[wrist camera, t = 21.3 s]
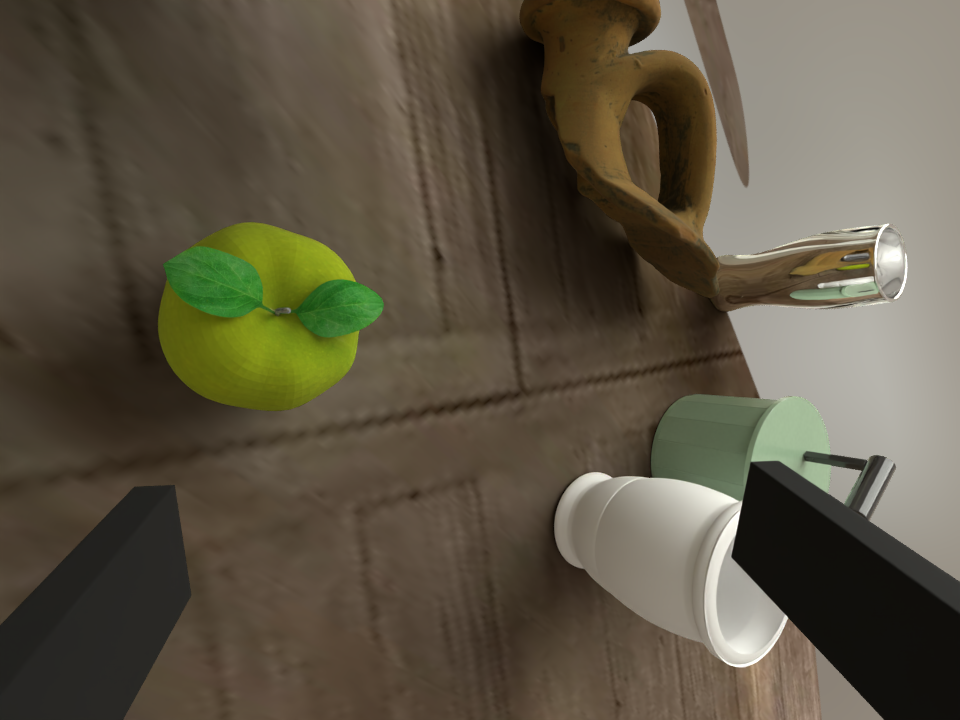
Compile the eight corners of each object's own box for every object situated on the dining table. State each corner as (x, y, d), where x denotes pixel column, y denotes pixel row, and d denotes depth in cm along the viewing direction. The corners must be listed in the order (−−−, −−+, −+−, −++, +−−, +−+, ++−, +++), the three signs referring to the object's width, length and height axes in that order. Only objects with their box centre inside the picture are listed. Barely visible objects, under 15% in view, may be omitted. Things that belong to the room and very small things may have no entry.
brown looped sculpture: (548, 302, 33) (571, -91, 28) (494, 290, 45) (504, 15, 41) (785, 305, 37) (834, -34, 33) (677, 293, 49) (702, 46, 45)
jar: (526, 567, 41) (689, 662, 28) (563, 444, 43) (731, 483, 30) (612, 587, 46) (781, 675, 34) (641, 477, 48) (812, 521, 36)
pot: (633, 449, 48) (728, 469, 40) (700, 370, 53) (796, 373, 45) (681, 542, 52) (777, 577, 44) (740, 460, 57) (835, 477, 49)
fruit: (180, 222, 28) (187, 165, 20) (343, 272, 33) (405, 244, 24) (138, 385, 27) (127, 399, 19) (312, 412, 32) (366, 433, 24)
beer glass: (704, 247, 53) (874, 214, 40) (742, 255, 57) (909, 227, 44) (703, 314, 53) (873, 301, 40) (741, 317, 57) (907, 307, 44)
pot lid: (715, 467, 40) (821, 488, 33) (790, 365, 46) (892, 366, 39) (769, 583, 44) (871, 622, 38) (831, 476, 50) (929, 494, 43)
